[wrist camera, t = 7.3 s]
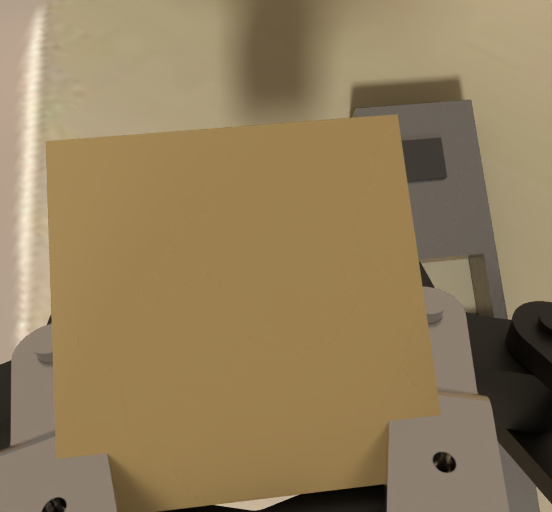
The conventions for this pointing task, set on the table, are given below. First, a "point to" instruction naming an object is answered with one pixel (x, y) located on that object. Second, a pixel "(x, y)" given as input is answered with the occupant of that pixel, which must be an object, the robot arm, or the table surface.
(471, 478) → the robot arm
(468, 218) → the rail
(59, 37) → the table surface
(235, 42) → the table surface
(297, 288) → the brass block
